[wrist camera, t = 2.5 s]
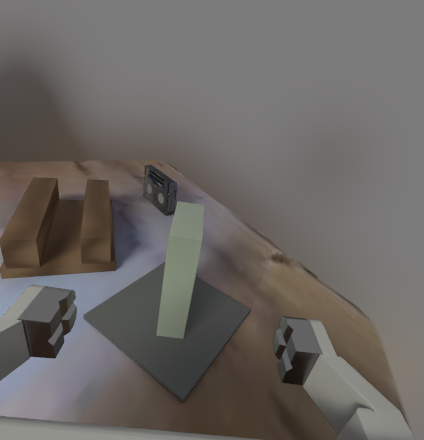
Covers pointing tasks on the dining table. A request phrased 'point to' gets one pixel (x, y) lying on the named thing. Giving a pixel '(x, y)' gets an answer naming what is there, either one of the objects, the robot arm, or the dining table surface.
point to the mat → (168, 346)
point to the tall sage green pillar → (180, 269)
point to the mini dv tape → (159, 190)
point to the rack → (59, 232)
